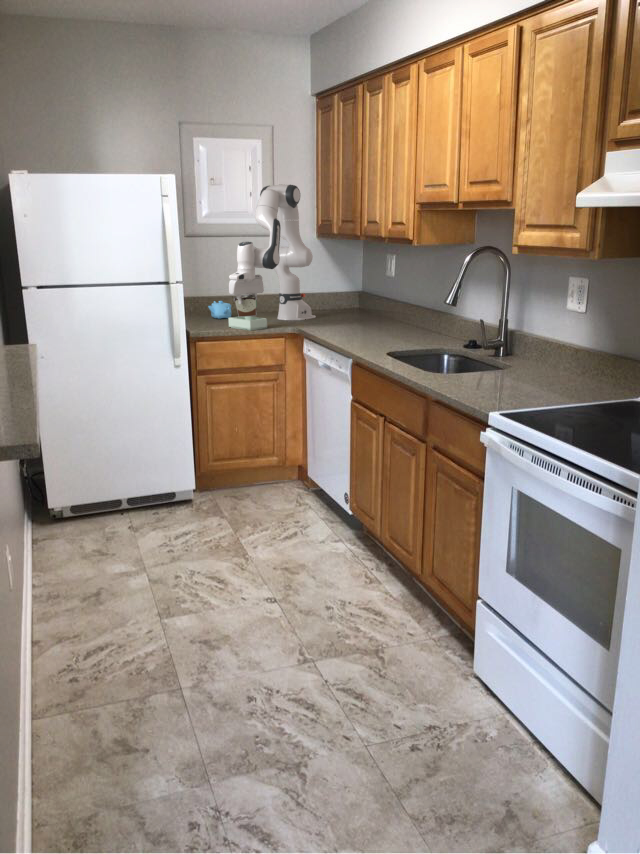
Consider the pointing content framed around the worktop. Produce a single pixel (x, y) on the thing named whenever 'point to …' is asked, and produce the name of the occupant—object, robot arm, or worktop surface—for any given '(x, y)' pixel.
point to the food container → (246, 305)
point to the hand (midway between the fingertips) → (247, 303)
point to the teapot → (220, 310)
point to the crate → (248, 323)
